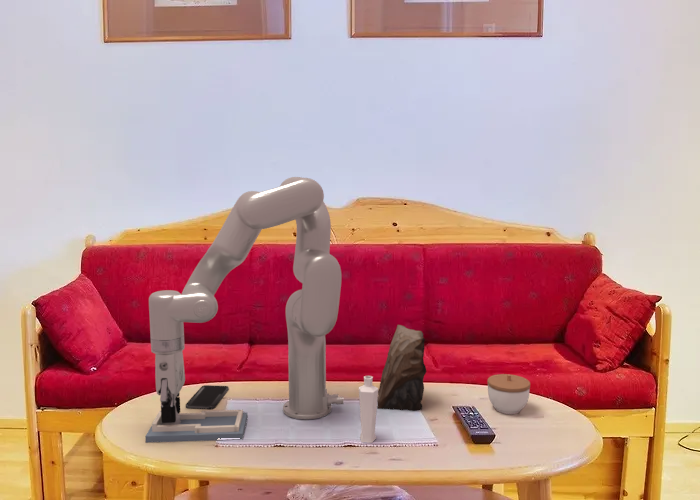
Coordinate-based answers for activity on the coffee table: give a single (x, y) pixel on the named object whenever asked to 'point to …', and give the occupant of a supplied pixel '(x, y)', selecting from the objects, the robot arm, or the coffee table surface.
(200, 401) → the phone
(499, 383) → the lidded jar
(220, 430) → the keyhole board
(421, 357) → the brown rock
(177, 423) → the rook chess piece
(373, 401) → the perfume bottle
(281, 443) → the coffee table surface
